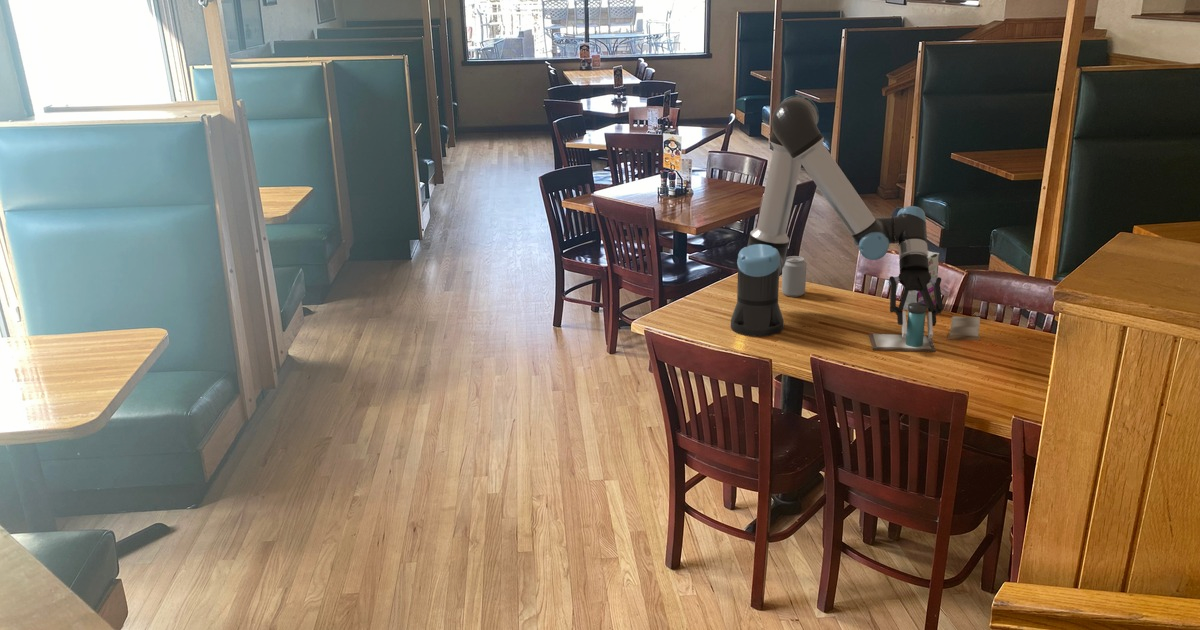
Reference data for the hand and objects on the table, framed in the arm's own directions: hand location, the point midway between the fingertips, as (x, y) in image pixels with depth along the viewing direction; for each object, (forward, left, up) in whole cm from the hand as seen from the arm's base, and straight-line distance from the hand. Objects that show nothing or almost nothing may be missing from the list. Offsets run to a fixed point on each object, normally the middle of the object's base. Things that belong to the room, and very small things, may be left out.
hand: (917, 335), depth 230 cm
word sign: (+14, +11, -5) cm, 18 cm away
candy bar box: (+6, +37, -5) cm, 37 cm away
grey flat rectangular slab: (-3, +6, -5) cm, 8 cm away
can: (-31, +47, -5) cm, 56 cm away
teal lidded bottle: (0, +4, -4) cm, 5 cm away
